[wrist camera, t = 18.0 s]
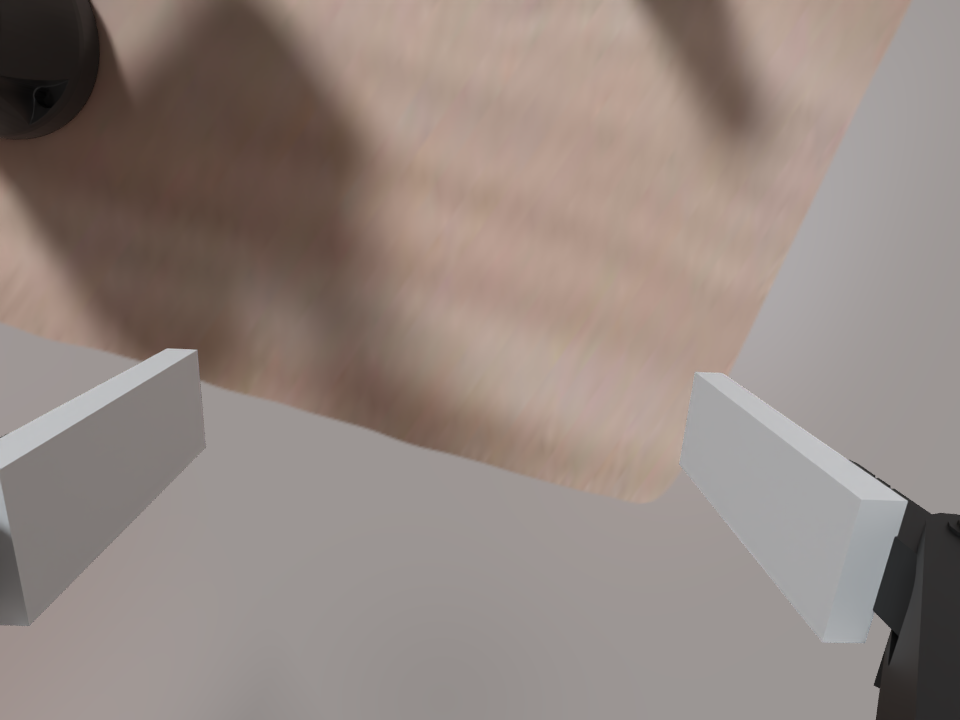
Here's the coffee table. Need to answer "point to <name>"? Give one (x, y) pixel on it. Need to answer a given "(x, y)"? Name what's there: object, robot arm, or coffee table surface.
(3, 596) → the robot arm
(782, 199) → the coffee table surface
